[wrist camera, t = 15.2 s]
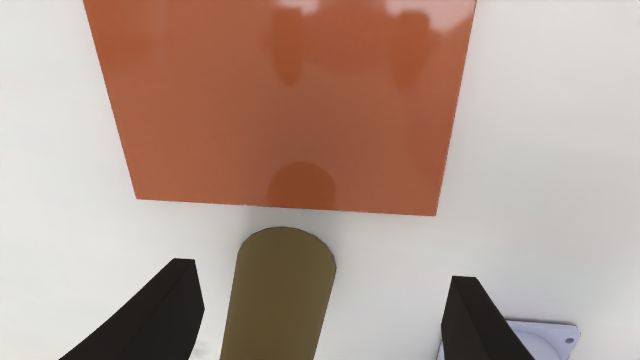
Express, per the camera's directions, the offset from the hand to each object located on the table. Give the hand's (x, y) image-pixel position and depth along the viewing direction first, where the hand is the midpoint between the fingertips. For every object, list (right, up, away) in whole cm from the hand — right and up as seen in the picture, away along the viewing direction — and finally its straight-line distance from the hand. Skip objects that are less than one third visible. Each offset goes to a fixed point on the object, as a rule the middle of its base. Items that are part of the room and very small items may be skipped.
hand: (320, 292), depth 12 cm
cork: (-2, -2, +14) cm, 14 cm away
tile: (-2, +9, +7) cm, 11 cm away
